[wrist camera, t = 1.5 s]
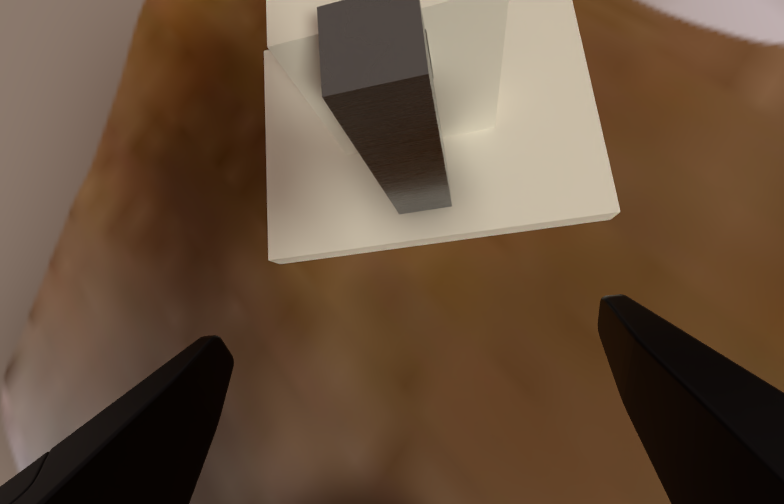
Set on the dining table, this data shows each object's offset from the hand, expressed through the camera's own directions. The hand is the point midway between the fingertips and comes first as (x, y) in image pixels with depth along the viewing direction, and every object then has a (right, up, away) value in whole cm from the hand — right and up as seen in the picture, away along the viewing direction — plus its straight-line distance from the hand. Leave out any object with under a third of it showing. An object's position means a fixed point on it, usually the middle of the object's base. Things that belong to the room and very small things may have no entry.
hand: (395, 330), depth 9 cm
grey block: (+1, +10, +14) cm, 17 cm away
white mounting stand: (+2, +10, +16) cm, 18 cm away
